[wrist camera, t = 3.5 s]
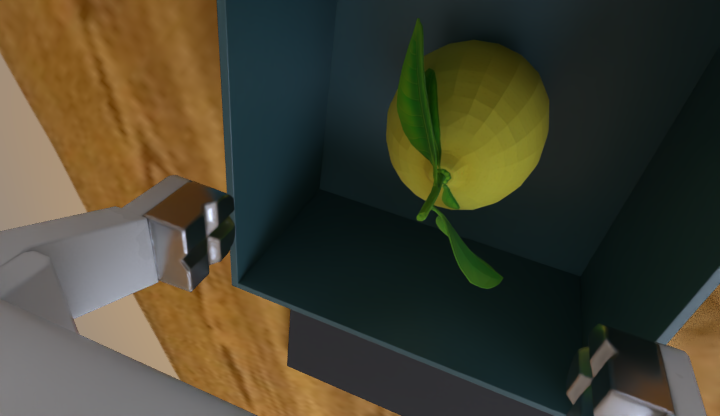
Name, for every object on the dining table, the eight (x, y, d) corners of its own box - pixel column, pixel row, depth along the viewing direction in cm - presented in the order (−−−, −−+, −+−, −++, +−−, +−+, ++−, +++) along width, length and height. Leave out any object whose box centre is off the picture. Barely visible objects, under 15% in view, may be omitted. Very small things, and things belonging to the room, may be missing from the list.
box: (349, -170, 16) (204, -217, 10) (816, -100, 13) (1060, -103, 7) (316, 188, 25) (231, 285, 19) (584, 278, 22) (591, 431, 16)
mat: (641, 365, 24) (644, 380, 23) (553, 467, 31) (553, 481, 30) (301, 240, 28) (293, 250, 27) (293, 355, 35) (286, 365, 34)
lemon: (518, 182, 21) (490, 352, 13) (399, 137, 21) (305, 269, 14) (596, 35, 16) (622, 153, 9) (444, -13, 17) (345, 55, 10)
